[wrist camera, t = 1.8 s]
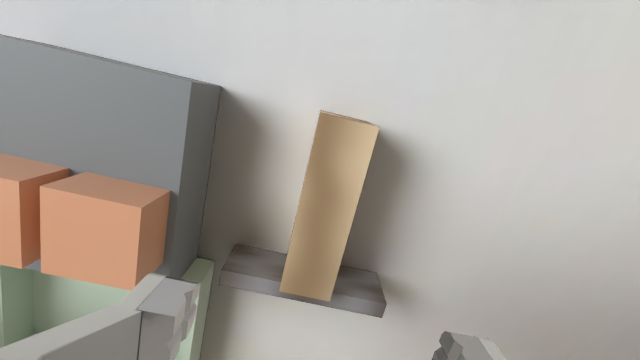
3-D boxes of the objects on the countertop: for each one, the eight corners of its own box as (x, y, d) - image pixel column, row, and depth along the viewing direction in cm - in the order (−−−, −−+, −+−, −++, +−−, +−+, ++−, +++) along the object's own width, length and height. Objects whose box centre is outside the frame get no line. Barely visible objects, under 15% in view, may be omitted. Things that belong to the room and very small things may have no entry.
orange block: (68, 168, 17) (18, 181, 15) (67, 242, 19) (21, 269, 16) (-20, 148, 17) (-88, 158, 14) (-14, 225, 18) (-77, 249, 16)
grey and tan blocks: (421, 134, 22) (449, 144, 17) (372, 284, 25) (384, 328, 21) (263, 96, 21) (246, 95, 16) (234, 255, 25) (213, 293, 20)
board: (221, 86, 21) (191, 82, 16) (197, 257, 25) (166, 296, 20) (48, 44, 20) (-37, 26, 15) (49, 226, 24) (-20, 259, 19)
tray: (214, 261, 25) (200, 282, 22) (198, 363, 27) (184, 394, 25) (30, 223, 24) (-11, 239, 21) (32, 332, 27) (-3, 361, 24)
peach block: (170, 190, 18) (141, 208, 15) (162, 262, 19) (134, 291, 16) (86, 171, 18) (39, 186, 15) (84, 246, 19) (40, 272, 16)
